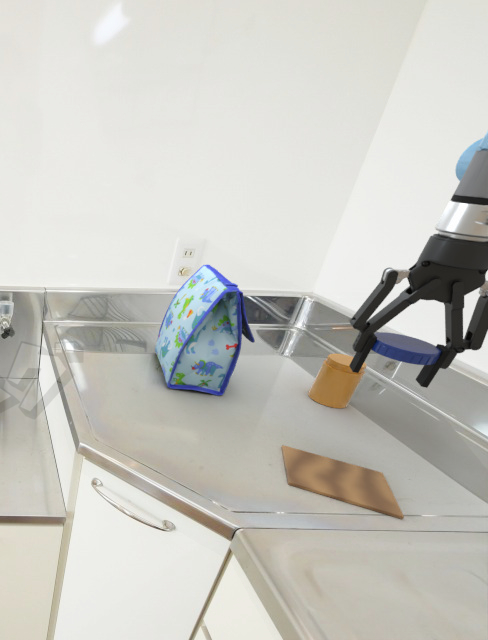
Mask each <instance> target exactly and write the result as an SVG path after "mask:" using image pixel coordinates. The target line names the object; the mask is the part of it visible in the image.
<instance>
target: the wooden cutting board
mask: <svg viewBox="0 0 488 640" xmlns="http://www.w3.org/2000/svg"><path fill="white" fill-rule="evenodd" d="M281 453H282V458H283V463H284V469H285V472H286V473H285V475H286V481H287V485H289V486H291V487H295V488H298V489H301V490H304V491H307V492H312V493H315V494H317V495H321V496H324V497H327V498H331V499H334V500H338V501H341V502H344V503H346V504H347V503H348V504H350V505H354V506H357V507H360V508H364V509H367V510H370V511H374V512H377V513H379V514H383V515H387V516H390V517H393V518H397V519H400V520H403V519H404V518H405V516H404V513H403V511H402V510H401V507H400V505H399V503H398V501H397V500H396V497H395V495H394V493H393V491H392V489H391V486H390V484H389V482H388V481H387V478H386V476H385V475H384V473H383V472H382V471H379V470H374V469H371V468H367V467H364V466H361V465H357V464H353V463H349V462H346V461H343V460H338V459H335V458H331V457H328V456H324V455H320V454H316V453H312V452H309V451H305V450H302V449H298V448H295V447H291V446H288V445H285V444H283V445H281Z"/></svg>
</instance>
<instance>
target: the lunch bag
mask: <svg viewBox="0 0 488 640" xmlns="http://www.w3.org/2000/svg"><path fill="white" fill-rule="evenodd" d="M167 307H168V308H167V309H166V312H165V314H164V317H163V319H162V322H161V324H160V327H159V332H158V334H157V340H156V342H155V347H154V352H155V354H156V356H157V359H158V361H159V364H160V367H161V370H162V373H163V376H164V380H165V383H166V386H167V388H168V389H171V390H187V391H197V392H202V393H206V394H209V395H213V396H220V397H221V396H223V395H224V394H225V393H226V390H227V388H228V386H229V383H230V381H231V377H232V375H233V373H234V371H235V369H236V366H237V363H238V360H239V357H240V353H241V349H242V339H243V336H244V338H245V339H246V340H248V341H249V342H250V343H256V341H255V337H254V335H253V333H252V329H251V327H250V325H249V322H248V318H247V313H246V305H245V301H244V292H243V291H242V290H240V288H239V285H238V284H237V283H235V282H232V281H230V280H229V279H228V278H227V277H225V276H224V275H223V274H222V273H221V272H219V271H218V269H216V268H215V267H213V266H212V265H211V264H203V265H202V266H200V268H198V269H197V271H195V273H193V275H191V276H190V277H189V278H188V279H187V280H186V281H185V282H184V283H183V284H182V286H181V287H180V288H179V289H178V290H177V292H176V293H175V295H174V296H173V297H172V300H171V301H170V303H169V304H168V306H167ZM242 335H243V336H242Z"/></svg>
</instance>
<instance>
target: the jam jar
mask: <svg viewBox="0 0 488 640" xmlns="http://www.w3.org/2000/svg"><path fill="white" fill-rule="evenodd" d="M353 358H354V356H351V355H348V354H344V353H329V354H328V355H327V357H326V359H324V360H323V362H322V364H321V366H320V367H319V370H318V372H317V374H316V376H315V378H314V380H313V382H312V384H311V386H310V389H309V390H308V392H307V395H308V397H309V398H310V399H311V400H312V401H314V402H315V403H318V404H320V405H322V406H326V407H328V408H334V409H345V408H346V407H348V405H349V403H350V402H351V400H352V398H353V396H354V395H355V393H356V390H357V388H358V387H359V385H360V383H361V381H362V379H363V378H364V376H365V374H366V371H365V370H366V369H367V363H366V362H364V363H363V365H362V367H361V369H360V371H359V373H355V372H353V371H352V370H351V368H350V366H349V365H350V363H351V361H352V360H353Z"/></svg>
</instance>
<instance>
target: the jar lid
mask: <svg viewBox="0 0 488 640" xmlns="http://www.w3.org/2000/svg"><path fill="white" fill-rule="evenodd" d="M374 334H375V336H376V337H377V340H376V341H375V343H374V345H373V347H372V349H371V351H372V352H374V353H376V354H378V355H380V356H383V357H385V358H388V359H391V360H394V361H397V362H402V363H406V364H411V365H417V366H424V365H432V364H434V363H436V361H437V359H438V358H439V355H440V353H441V350H440V349H439V348H438V347H436V346H437V345H434V344H433V343H431V342H428V341H425V340H423V339H419V338H416V337H413V336H409V335H405V334H400V333H394V332H383V331H381V332H375V333H374Z"/></svg>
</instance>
